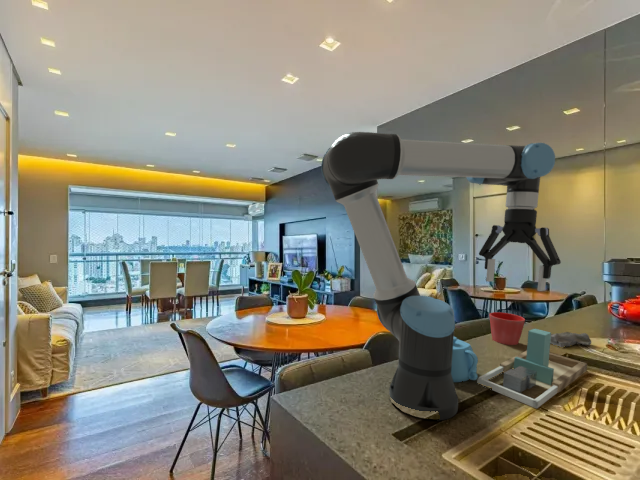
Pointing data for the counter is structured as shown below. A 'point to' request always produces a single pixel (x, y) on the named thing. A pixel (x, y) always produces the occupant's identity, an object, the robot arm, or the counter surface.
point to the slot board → (555, 369)
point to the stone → (569, 339)
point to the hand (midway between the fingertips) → (514, 285)
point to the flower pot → (506, 327)
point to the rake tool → (537, 355)
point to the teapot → (463, 362)
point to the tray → (513, 394)
